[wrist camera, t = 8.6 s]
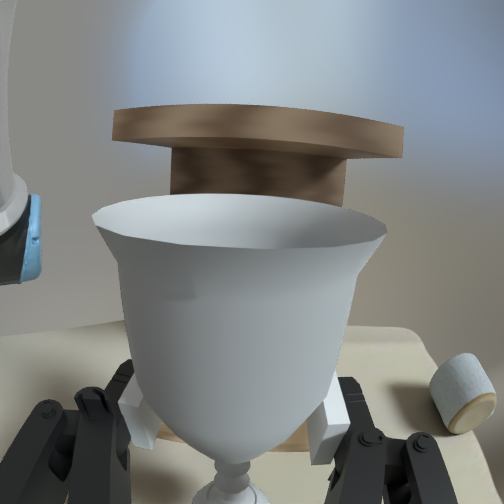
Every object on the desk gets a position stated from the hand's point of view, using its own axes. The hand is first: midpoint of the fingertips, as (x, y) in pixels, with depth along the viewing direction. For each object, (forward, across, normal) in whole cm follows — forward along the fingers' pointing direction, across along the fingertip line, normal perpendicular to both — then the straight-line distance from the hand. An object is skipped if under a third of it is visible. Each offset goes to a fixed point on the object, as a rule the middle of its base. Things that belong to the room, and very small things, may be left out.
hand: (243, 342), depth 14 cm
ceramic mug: (+7, +28, -17) cm, 33 cm away
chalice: (-5, 0, -11) cm, 12 cm away
